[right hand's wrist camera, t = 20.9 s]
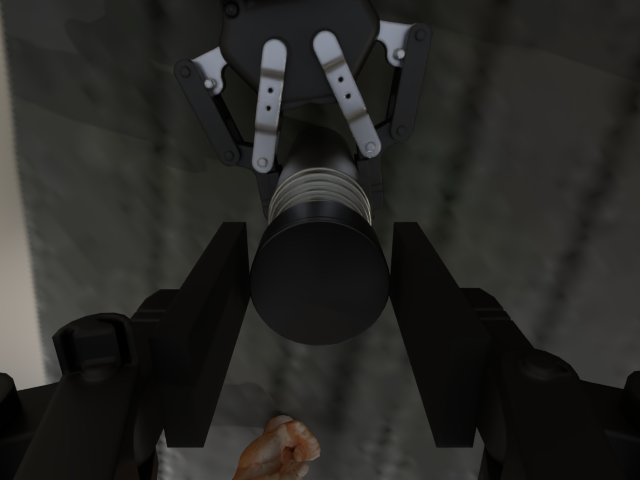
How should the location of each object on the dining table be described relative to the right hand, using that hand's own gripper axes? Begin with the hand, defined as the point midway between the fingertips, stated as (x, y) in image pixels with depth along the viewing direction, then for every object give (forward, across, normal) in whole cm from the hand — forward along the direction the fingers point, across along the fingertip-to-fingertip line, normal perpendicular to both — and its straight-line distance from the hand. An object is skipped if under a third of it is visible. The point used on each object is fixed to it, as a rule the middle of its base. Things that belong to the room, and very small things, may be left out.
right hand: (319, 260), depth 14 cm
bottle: (+18, 0, 0) cm, 18 cm away
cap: (-2, 0, 0) cm, 2 cm away
